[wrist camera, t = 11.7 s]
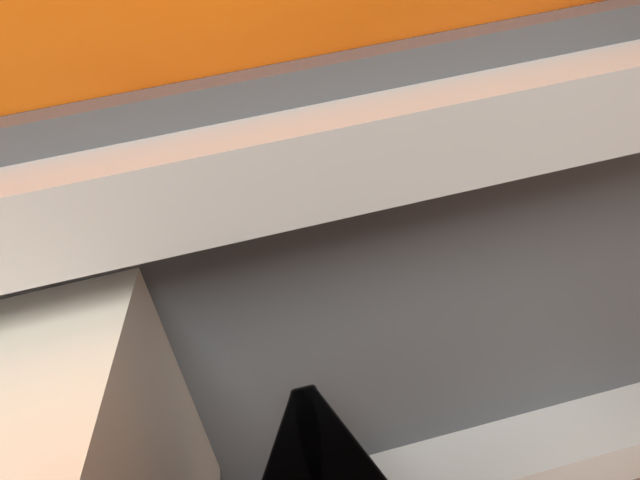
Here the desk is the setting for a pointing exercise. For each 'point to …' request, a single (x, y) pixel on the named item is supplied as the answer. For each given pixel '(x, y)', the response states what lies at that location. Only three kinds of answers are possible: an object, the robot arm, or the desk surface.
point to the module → (95, 388)
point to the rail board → (374, 241)
